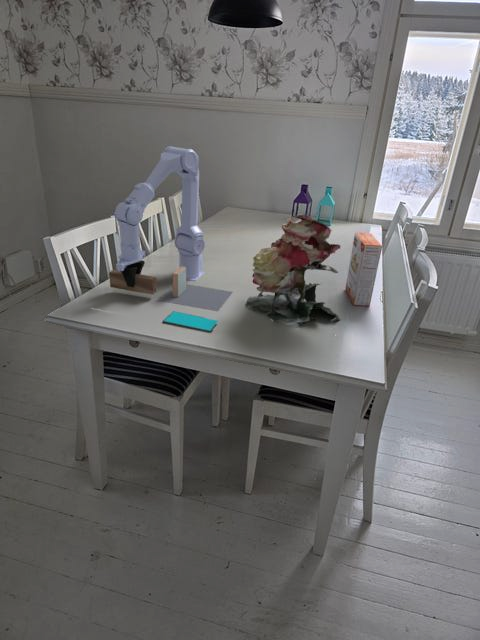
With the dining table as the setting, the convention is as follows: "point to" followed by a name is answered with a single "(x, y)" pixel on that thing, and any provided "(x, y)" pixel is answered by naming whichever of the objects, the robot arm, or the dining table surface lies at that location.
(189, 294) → the mat
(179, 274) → the tile
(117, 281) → the brown wooden plank
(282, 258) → the rose bouquet
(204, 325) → the smartphone
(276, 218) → the dining table surface
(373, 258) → the cracker box
